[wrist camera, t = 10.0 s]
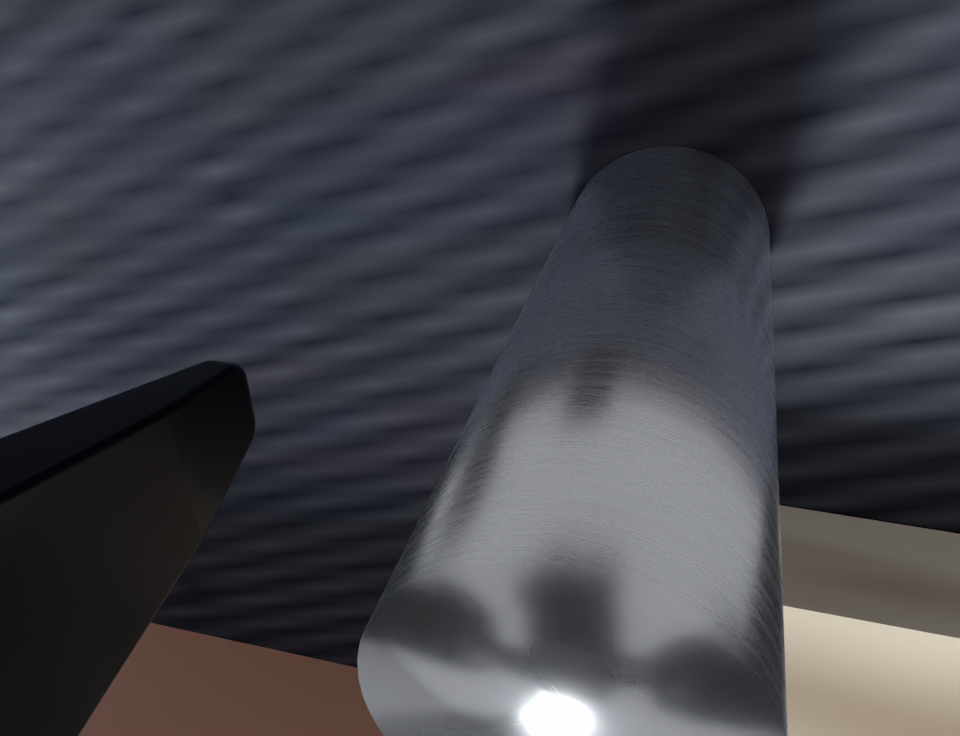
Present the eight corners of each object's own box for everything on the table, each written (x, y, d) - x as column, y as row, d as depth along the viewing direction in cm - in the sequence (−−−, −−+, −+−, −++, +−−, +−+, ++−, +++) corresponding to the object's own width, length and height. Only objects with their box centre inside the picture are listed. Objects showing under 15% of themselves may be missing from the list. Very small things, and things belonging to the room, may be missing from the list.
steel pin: (752, 340, 14) (750, 894, 7) (564, 318, 15) (375, 794, 7) (787, 153, 12) (832, 619, 5) (571, 138, 13) (335, 525, 6)
